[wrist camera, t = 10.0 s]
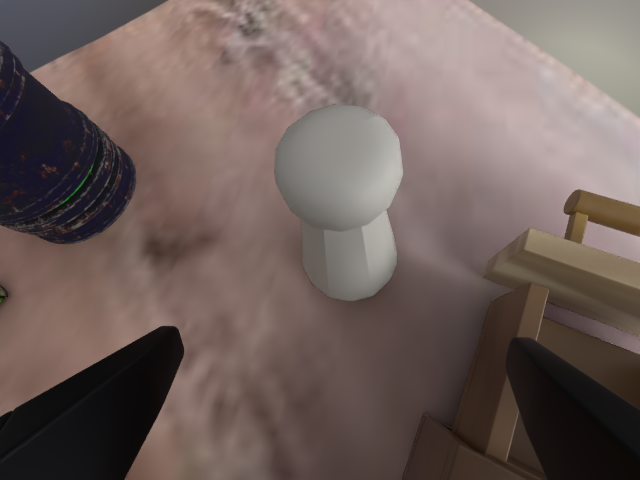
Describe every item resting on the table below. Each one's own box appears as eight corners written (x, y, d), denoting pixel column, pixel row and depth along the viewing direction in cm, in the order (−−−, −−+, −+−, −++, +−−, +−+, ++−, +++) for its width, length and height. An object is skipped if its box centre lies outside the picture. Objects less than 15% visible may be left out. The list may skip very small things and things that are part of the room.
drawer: (505, 205, 21) (549, 157, 16) (695, 265, 18) (819, 229, 13) (433, 433, 17) (462, 463, 12) (663, 553, 14) (823, 657, 9)
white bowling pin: (397, 306, 20) (447, 228, 8) (309, 308, 21) (235, 239, 9) (389, 223, 22) (420, 63, 10) (309, 227, 23) (250, 82, 11)
